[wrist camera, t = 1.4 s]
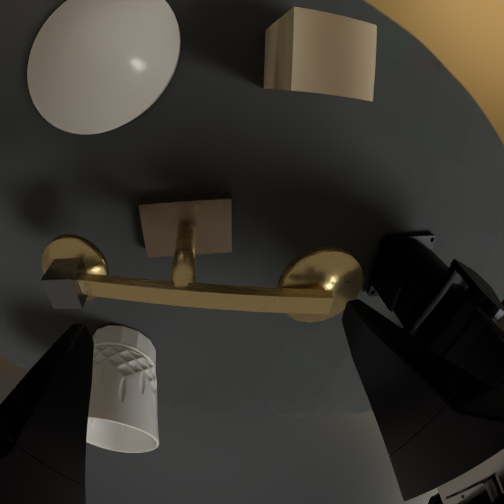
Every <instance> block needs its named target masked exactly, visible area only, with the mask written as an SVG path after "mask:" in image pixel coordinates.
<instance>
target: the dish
mask: <svg viewBox="0 0 504 504" xmlns="http://www.w3.org/2000/svg"><path fill="white" fill-rule="evenodd" d="M180 49H181V35H180V30H179V25H178V23H177V20H176V17H175V15H174V13H173V11H172V9H171V8H170V6H169V4H168V3H167V2H166V1H165V0H67V1H66V2H64V3H63V4H62V5H61V6H60V7H58V8H57V9H56V10H55V11H54V12H53V13H52V15H51V16H50V17H49V18H48V19H47V21H46V22H45V23H44V25H43V26H42V28H41V29H40V31H39V33H38V35H37V37H36V39H35V41H34V43H33V46H32V49H31V52H30V56H29V61H28V69H27V80H28V88H29V92H30V95H31V98H32V101H33V103H34V105H35V107H36V109H37V110H38V111H39V113H40V114H41V115H42V116H43V117H44V118H45V119H46V120H47V121H48V122H49V123H51V124H52V125H53V126H55V127H57V128H59V129H61V130H63V131H66V132H70V133H75V134H88V135H89V134H98V133H102V132H106V131H110V130H112V129H115V128H118V127H120V126H122V125H124V124H126V123H128V122H130V121H132V120H133V119H135V118H136V117H138V116H140V115H141V114H142V113H144V112H145V111H146V110H147V109H149V108H150V107H151V106H152V105H153V104H154V103H155V102H156V101H157V100H158V98H159V97H160V96H161V95H162V93H163V92H164V91H165V89H166V88H167V86H168V85H169V83H170V81H171V79H172V77H173V75H174V73H175V70H176V67H177V65H178V61H179V56H180Z"/></svg>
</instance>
